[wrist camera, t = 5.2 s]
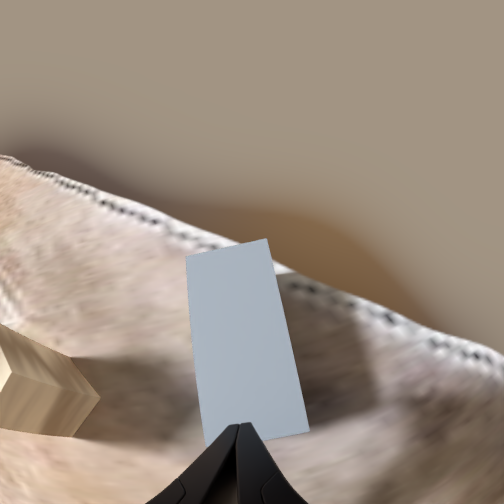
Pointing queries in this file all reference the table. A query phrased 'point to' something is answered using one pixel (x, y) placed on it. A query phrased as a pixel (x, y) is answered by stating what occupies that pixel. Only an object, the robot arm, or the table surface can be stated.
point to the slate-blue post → (242, 344)
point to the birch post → (41, 388)
